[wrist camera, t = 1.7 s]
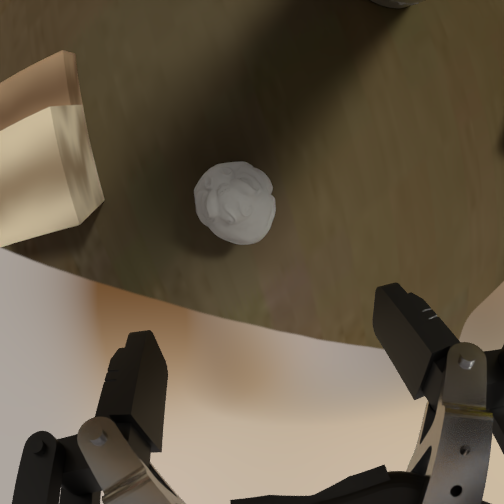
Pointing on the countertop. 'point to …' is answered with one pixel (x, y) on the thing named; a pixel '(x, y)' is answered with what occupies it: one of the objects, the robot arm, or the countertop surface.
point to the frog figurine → (235, 202)
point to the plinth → (45, 152)
